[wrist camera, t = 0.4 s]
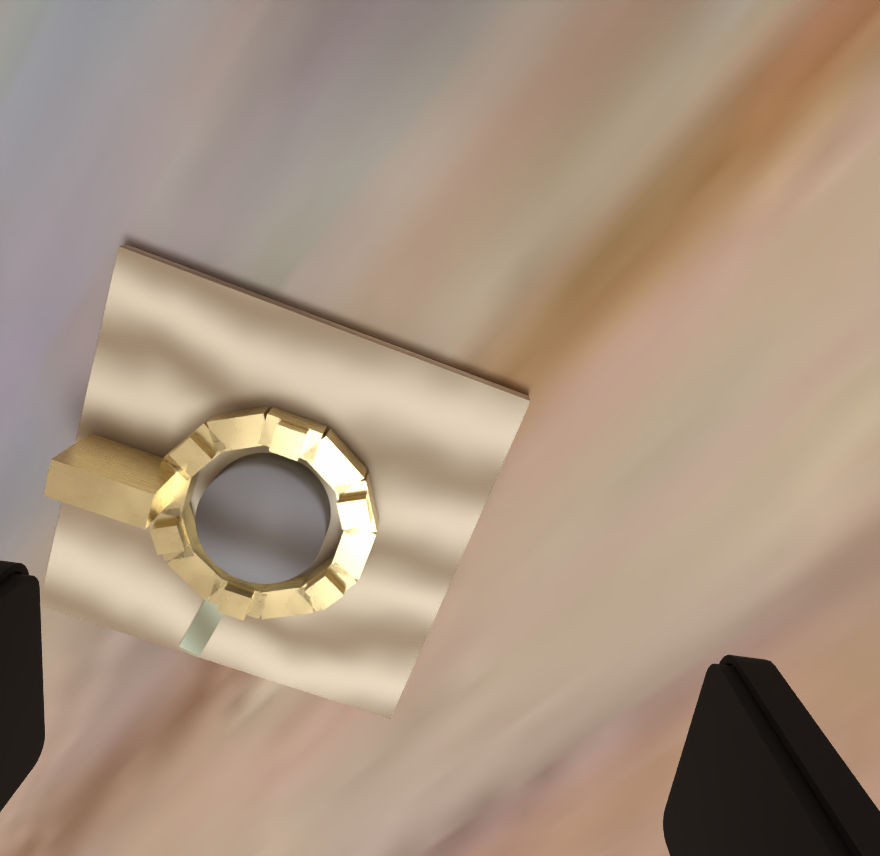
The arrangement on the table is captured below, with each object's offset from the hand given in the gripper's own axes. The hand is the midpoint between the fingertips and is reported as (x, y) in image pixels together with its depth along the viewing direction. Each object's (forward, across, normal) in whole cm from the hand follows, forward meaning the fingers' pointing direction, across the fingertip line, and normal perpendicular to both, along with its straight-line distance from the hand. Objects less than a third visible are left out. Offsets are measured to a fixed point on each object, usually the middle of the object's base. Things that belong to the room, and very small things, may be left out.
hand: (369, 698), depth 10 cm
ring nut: (+33, +11, +13) cm, 38 cm away
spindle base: (+35, +9, +14) cm, 38 cm away
